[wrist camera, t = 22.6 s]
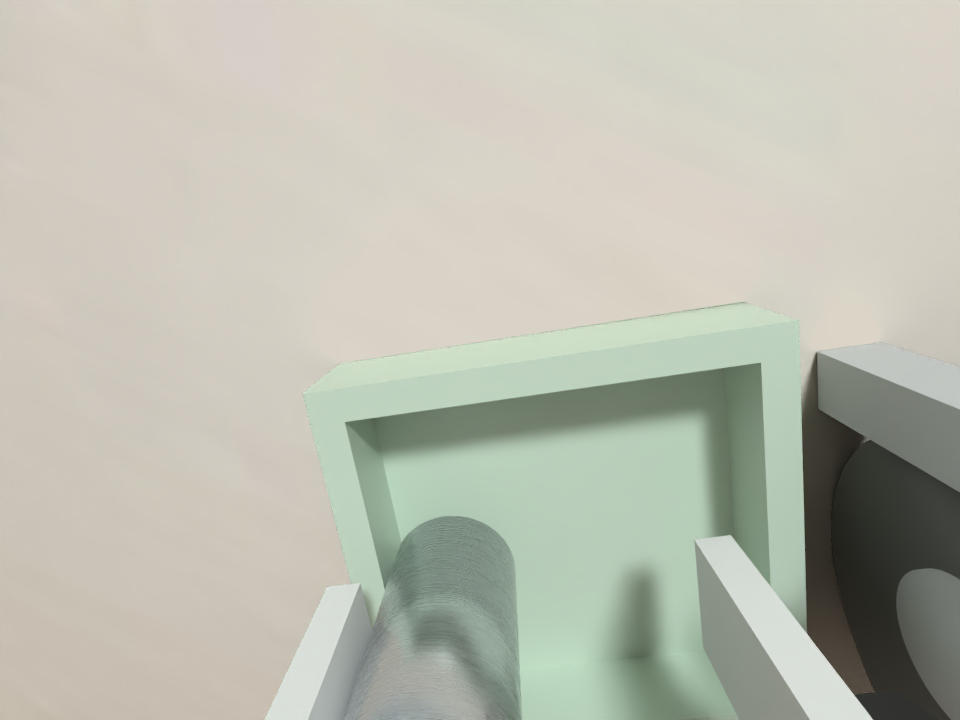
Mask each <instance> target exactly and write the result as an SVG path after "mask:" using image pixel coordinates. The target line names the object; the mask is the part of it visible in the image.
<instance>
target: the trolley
mask: <svg viewBox="0 0 960 720" xmlns="http://www.w3.org/2000/svg"><path fill="white" fill-rule="evenodd" d="M817 370H818V409H819V410H821V411H822V412H824V413H826V414H827V415H829V416H831V417H833V418H834V419H836V420H838V421H839V422H841V423H843V424H844V425H846V426H848V427H850V428H851V429H853V430H855V431H856V432H858V433H860V434H861V435H863V436H865V437H867V438H868V439H870V440H869V441H867V442H865V443H864V444H862V445H861V446H860V447H859V448H858V449H857V450H856V451H855V452H854V453H853V454H852V455H851V457H850V458H849V460H848V461H847V463H846V464H845V466H844V468H843V470H842V472H841V475H840V477H839V479H838V483H837V487H836V490H835V494H834V500H833V508H832V524H831V533H832V550H833V558H834V566H835V572H836V577H837V582H838V587H839V592H840V595H841V599H842V603H843V607H844V611H845V614H846V618H847V621H848V624H849V627H850V630H851V633H852V636H853V639H854V642H855V644H856V647H857V650H858V653H859V655H860V658H861V660H862V663H863V665H864V668H865V670H866V672H867V675H868V677H869V679H870V682H871V684H872V686H873V688H874V690H875V692H886V691H895V690H896V691H898V692H899V693H901V694H902V695H903V696H905V697H906V698H908V699H909V700H911V701H912V702H914V703H915V704H916V705H918V706H919V707H921V708H922V709H924V710H925V711H927V712H928V713H929V714H931V715H932V716H934V717H935V718H937V719H938V720H960V367H959V366H956V365H953V364H949V363H946V362H943V361H940V360H937V359H933V358H930V357H927V356H924V355H920V354H917V353H914V352H911V351H908V350H904V349H901V348H898V347H895V346H891V345H888V344H885V343H882V342H881V343H874V344H867V345H860V346H853V347H846V348H839V349H832V350H825V351H818V352H817Z"/></svg>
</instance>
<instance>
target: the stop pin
mask: <svg viewBox="0 0 960 720" xmlns="http://www.w3.org/2000/svg"><path fill="white" fill-rule="evenodd" d="M344 720H522V702H521V680H520V659H519V637H518V615H517V594H516V572H515V562H514V558H513V555H512V552H511V550H510V548H509V546H508V545H507V543H506V542H505V540H504V539H503V538H502V537H501V536H500V535H499V534H498V533H497V532H496V531H495V530H494V529H492V528H491V527H489V526H488V525H486V524H484V523H482V522H480V521H477V520H475V519H471V518H468V517H462V516H443V517H438V518H434V519H431V520H428V521H426V522H424V523H422V524H420V525H419V526H417V527H416V528H414V529H413V530H412V531H411V532H410V533H409V534H408V535H407V536H406V537H405V538H404V540H403V541H402V543H401V544H400V546H399V549H398V551H397V554H396V557H395V560H394V563H393V566H392V570H391V573H390V576H389V579H388V582H387V585H386V588H385V592H384V595H383V598H382V601H381V604H380V607H379V611H378V614H377V617H376V620H375V623H374V626H373V630H372V633H371V636H370V639H369V642H368V645H367V649H366V652H365V655H364V658H363V661H362V664H361V667H360V671H359V674H358V677H357V680H356V683H355V686H354V690H353V693H352V696H351V699H350V702H349V705H348V709H347V712H346V715H345V718H344Z"/></svg>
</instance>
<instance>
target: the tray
mask: <svg viewBox="0 0 960 720" xmlns="http://www.w3.org/2000/svg"><path fill="white" fill-rule="evenodd" d="M303 398H304V402H305V405H306V409H307V413H308V417H309V421H310V425H311V429H312V433H313V437H314V441H315V445H316V448H317V452H318V456H319V460H320V464H321V468H322V472H323V476H324V480H325V484H326V487H327V491H328V495H329V499H330V503H331V507H332V511H333V515H334V519H335V523H336V527H337V530H338V534H339V538H340V542H341V546H342V550H343V554H344V558H345V562H346V566H347V569H348V573H349V577H350V581H351V584H355V583H360V584H361V588H362V592H363V596H364V600H365V604H366V608H367V612H368V616H369V620H370V624H371V627H372V630H373V626H374V623H375V620H376V617H377V614H378V611H379V607H380V604H381V601H382V598H383V595H384V592H385V588H386V585H387V582H388V579H389V576H390V573H391V570H392V566H393V563H394V560H395V557H396V554H397V551H398V549H399V546H400V544H401V543H402V541H403V540H404V538H405V537H406V536H407V535H408V534H409V533H410V532H411V531H412V530H413V529H414V528H416V527H417V526H419V525H420V524H422V523H424V522H426V521H428V520H431V519H434V518H438V517H443V516H462V517H468V518H471V519H475V520H477V521H480V522H482V523H484V524H486V525H488V526H489V527H491V528H492V529H494V530H495V531H496V532H497V533H498V534H499V535H500V536H501V537H502V538H503V539H504V540H505V542H506V543H507V545H508V546H509V548H510V550H511V552H512V555H513V558H514V562H515V572H516V594H517V615H518V637H519V659H520V680H521V702H522V720H739V718H738V716H737V714H736V712H735V710H734V708H733V706H732V704H731V702H730V700H729V698H728V696H727V694H726V692H725V690H724V688H723V686H722V684H721V682H720V680H719V678H718V676H717V674H716V672H715V670H714V668H713V666H712V664H711V662H710V660H709V658H708V656H707V654H706V652H705V650H704V648H703V640H702V627H701V615H700V603H699V591H698V578H697V566H696V554H695V542H694V540H696V539H704V538H711V537H719V536H727V535H731V536H732V537H733V539H734V540H735V541H736V542H737V544H738V545H739V546H740V548H741V549H742V550H743V552H744V553H745V554H746V555H747V557H748V558H749V559H750V561H751V562H752V563H753V565H754V566H755V567H756V568H757V570H758V571H759V572H760V574H761V575H762V576H763V577H764V579H765V580H766V581H767V583H768V584H769V585H770V587H771V588H772V589H773V590H774V592H775V593H776V594H777V596H778V597H779V598H780V600H781V601H782V602H783V603H784V605H785V606H786V607H787V609H788V610H789V611H790V613H791V614H792V615H793V616H794V618H795V619H796V620H797V622H798V623H799V624H800V625H801V627H802V628H803V629H804V631H805V632H806V633H807V612H806V572H805V533H804V493H803V454H802V414H801V375H800V335H799V320H797V319H794V318H791V317H788V316H785V315H782V314H778V313H775V312H772V311H769V310H766V309H763V308H760V307H757V306H754V305H750V304H747V303H744V302H741V303H735V304H728V305H722V306H715V307H708V308H702V309H695V310H689V311H682V312H676V313H669V314H663V315H656V316H650V317H643V318H636V319H630V320H623V321H617V322H610V323H604V324H597V325H591V326H584V327H578V328H571V329H564V330H558V331H551V332H545V333H538V334H532V335H525V336H519V337H512V338H506V339H499V340H492V341H486V342H479V343H473V344H466V345H460V346H453V347H447V348H440V349H434V350H427V351H420V352H414V353H407V354H401V355H394V356H388V357H381V358H375V359H368V360H362V361H355V362H348V363H342V364H338V365H337V366H336V367H335V368H334V369H332V370H331V371H330V372H329V373H327V374H326V375H325V376H324V377H323V378H321V379H320V380H319V381H318V382H316V383H315V384H314V385H313V386H312V387H310V388H309V389H308V390H307V391H306V392H304V393H303Z"/></svg>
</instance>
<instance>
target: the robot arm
mask: <svg viewBox="0 0 960 720" xmlns="http://www.w3.org/2000/svg"><path fill="white" fill-rule="evenodd" d="M694 542H695V554H696V566H697V578H698V591H699V603H700V615H701V627H702V640H703V648H704V650H705V652H706V654H707V656H708V658H709V660H710V662H711V664H712V666H713V668H714V670H715V672H716V674H717V676H718V678H719V680H720V682H721V684H722V686H723V688H724V690H725V692H726V694H727V696H728V698H729V700H730V702H731V704H732V706H733V708H734V710H735V712H736V714H737V716H738V718H739V720H938V719H937V718H935V717H934V716H932V715H931V714H929V713H928V712H927V711H925V710H924V709H922V708H921V707H919V706H918V705H916V704H915V703H914V702H912V701H911V700H909V699H908V698H906V697H905V696H903V695H902V694H901V693H899V692H898V691H896V690H895V691H886V692H876V693H867V694H858V695H854V694H853V693H852V692H851V690H850V689H849V688H848V686H847V685H846V684H845V683H844V681H843V680H842V679H841V677H840V676H839V675H838V673H837V672H836V671H835V670H834V668H833V667H832V666H831V664H830V663H829V662H828V661H827V659H826V658H825V657H824V655H823V654H822V653H821V651H820V650H819V649H818V648H817V646H816V645H815V644H814V642H813V641H812V640H811V638H810V637H809V636H808V635H807V633H806V632H805V631H804V629H803V628H802V627H801V625H800V624H799V623H798V622H797V620H796V619H795V618H794V616H793V615H792V614H791V613H790V611H789V610H788V609H787V607H786V606H785V605H784V603H783V602H782V601H781V600H780V598H779V597H778V596H777V594H776V593H775V592H774V590H773V589H772V588H771V587H770V585H769V584H768V583H767V581H766V580H765V579H764V577H763V576H762V575H761V574H760V572H759V571H758V570H757V568H756V567H755V566H754V565H753V563H752V562H751V561H750V559H749V558H748V557H747V555H746V554H745V553H744V552H743V550H742V549H741V548H740V546H739V545H738V544H737V542H736V541H735V540H734V539H733V537H732V536H731V535H727V536H719V537H711V538H704V539H696V540H694ZM371 633H372V627H371V624H370V620H369V616H368V612H367V608H366V604H365V600H364V596H363V592H362V588H361V584H360V583H355V584H348V585H340V586H332V587H327V588H326V591H325V593H324V595H323V597H322V599H321V601H320V603H319V605H318V608H317V610H316V612H315V614H314V616H313V618H312V620H311V622H310V625H309V627H308V629H307V631H306V633H305V635H304V637H303V639H302V642H301V644H300V646H299V648H298V650H297V652H296V654H295V656H294V659H293V661H292V663H291V665H290V667H289V669H288V671H287V673H286V676H285V678H284V680H283V682H282V684H281V686H280V688H279V690H278V693H277V695H276V697H275V699H274V701H273V703H272V705H271V707H270V710H269V712H268V714H267V716H266V718H265V720H344V718H345V715H346V712H347V709H348V705H349V702H350V699H351V696H352V693H353V690H354V686H355V683H356V680H357V677H358V674H359V671H360V667H361V664H362V661H363V658H364V655H365V652H366V649H367V645H368V642H369V639H370V636H371Z"/></svg>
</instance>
